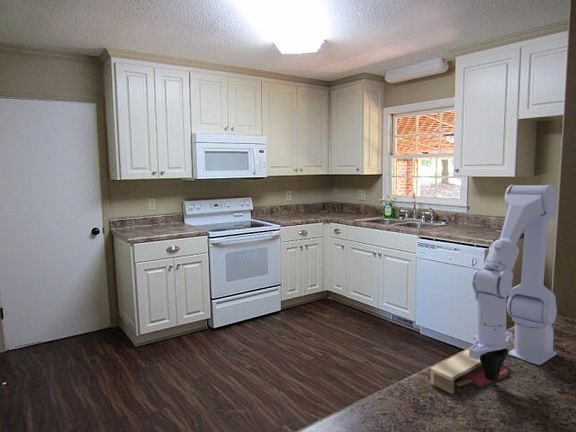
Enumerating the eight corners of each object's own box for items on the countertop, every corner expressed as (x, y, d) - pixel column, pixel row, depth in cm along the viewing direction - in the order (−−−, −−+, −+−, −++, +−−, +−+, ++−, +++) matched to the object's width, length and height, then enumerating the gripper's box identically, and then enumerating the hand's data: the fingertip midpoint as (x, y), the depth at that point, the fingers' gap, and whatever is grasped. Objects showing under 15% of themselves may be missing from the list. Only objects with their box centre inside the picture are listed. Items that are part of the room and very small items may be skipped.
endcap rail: (481, 356, 106) (481, 342, 106) (503, 364, 102) (503, 349, 101) (430, 383, 95) (430, 368, 94) (451, 393, 90) (451, 377, 90)
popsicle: (447, 376, 96) (493, 361, 101) (447, 382, 96) (493, 367, 102) (466, 387, 91) (513, 370, 97) (466, 393, 91) (513, 376, 97)
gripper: (492, 309, 99) (491, 363, 101) (456, 325, 91) (456, 382, 93) (522, 317, 93) (521, 374, 95) (486, 334, 85) (486, 396, 87)
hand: (491, 379), depth 93 cm, fingers closed, pressing on popsicle
